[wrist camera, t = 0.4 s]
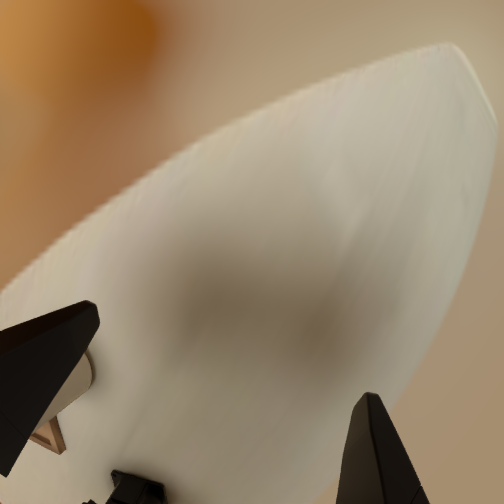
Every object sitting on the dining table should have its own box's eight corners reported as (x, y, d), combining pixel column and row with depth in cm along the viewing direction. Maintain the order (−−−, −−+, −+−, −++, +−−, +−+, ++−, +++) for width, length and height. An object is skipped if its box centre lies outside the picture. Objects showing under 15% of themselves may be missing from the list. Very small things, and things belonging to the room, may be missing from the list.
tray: (65, 449, 25) (60, 455, 23) (10, 419, 25) (3, 423, 24) (46, 373, 24) (38, 378, 23) (-9, 349, 25) (-16, 352, 23)
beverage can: (103, 392, 24) (30, 457, 12) (58, 388, 24) (-14, 438, 12) (85, 330, 24) (-8, 374, 12) (41, 332, 24) (-44, 366, 12)
